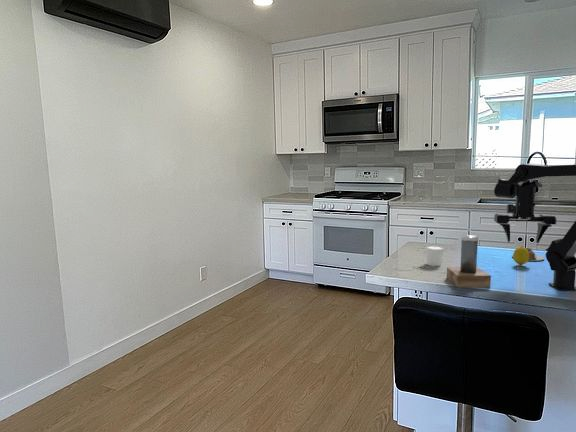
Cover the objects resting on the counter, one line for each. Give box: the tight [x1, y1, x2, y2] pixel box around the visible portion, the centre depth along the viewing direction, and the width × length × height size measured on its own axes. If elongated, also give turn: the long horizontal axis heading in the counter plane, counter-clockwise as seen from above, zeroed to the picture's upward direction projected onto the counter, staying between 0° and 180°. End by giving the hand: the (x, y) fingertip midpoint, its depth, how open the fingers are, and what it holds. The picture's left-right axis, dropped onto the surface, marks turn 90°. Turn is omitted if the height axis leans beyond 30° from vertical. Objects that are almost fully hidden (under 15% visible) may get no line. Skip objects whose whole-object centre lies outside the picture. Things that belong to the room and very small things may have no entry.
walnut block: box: [446, 266, 492, 288], centre depth 148 cm, size 11×11×4 cm
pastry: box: [511, 247, 545, 262], centre depth 179 cm, size 12×12×5 cm
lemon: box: [512, 245, 529, 267], centre depth 168 cm, size 6×6×8 cm
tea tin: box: [459, 234, 479, 273], centre depth 147 cm, size 5×5×12 cm
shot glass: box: [425, 245, 444, 267], centre depth 173 cm, size 7×7×7 cm
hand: (522, 242), depth 151 cm, fingers open, 9 cm apart
